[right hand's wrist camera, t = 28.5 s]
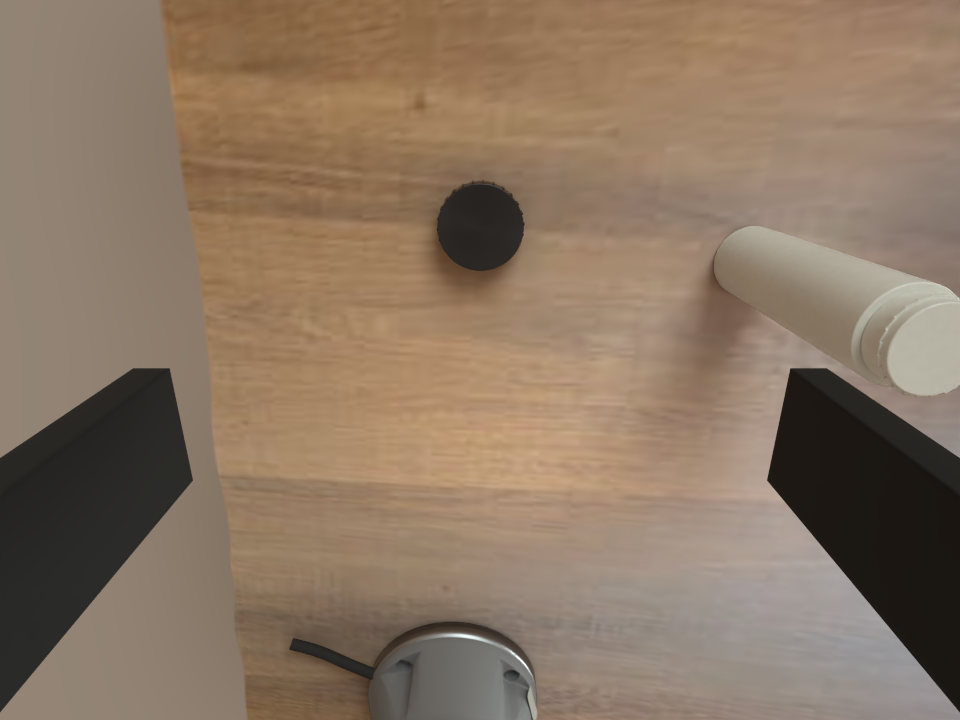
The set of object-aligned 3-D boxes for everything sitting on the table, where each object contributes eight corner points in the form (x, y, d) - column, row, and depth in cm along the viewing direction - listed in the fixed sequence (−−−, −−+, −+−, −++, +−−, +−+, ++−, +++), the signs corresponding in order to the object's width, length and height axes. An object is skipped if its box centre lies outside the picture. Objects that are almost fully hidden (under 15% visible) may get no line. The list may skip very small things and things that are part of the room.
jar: (701, 250, 40) (861, 333, 23) (767, 211, 39) (982, 269, 22) (729, 307, 41) (898, 424, 25) (794, 271, 40) (1014, 368, 24)
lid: (534, 195, 38) (537, 198, 36) (507, 275, 40) (508, 282, 38) (452, 168, 38) (450, 170, 36) (429, 251, 40) (426, 257, 38)
